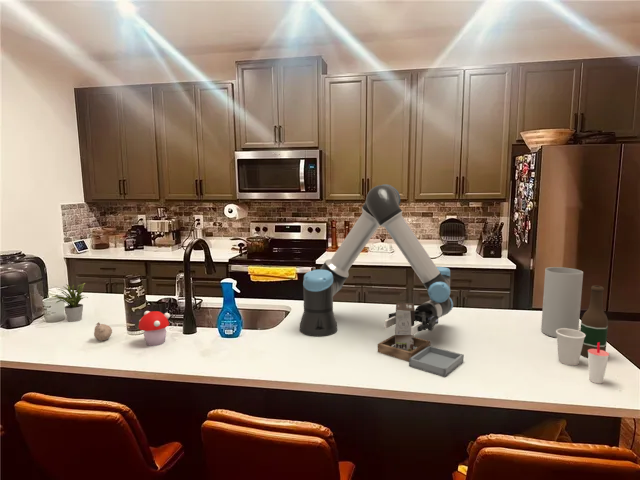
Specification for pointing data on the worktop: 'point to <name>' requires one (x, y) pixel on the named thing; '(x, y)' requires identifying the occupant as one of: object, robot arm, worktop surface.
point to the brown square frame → (386, 349)
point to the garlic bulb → (102, 332)
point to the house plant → (72, 303)
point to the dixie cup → (569, 345)
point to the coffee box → (404, 326)
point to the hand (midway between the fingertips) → (398, 327)
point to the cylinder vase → (561, 299)
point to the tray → (436, 360)
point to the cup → (597, 364)
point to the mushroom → (154, 327)
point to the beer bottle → (594, 323)
